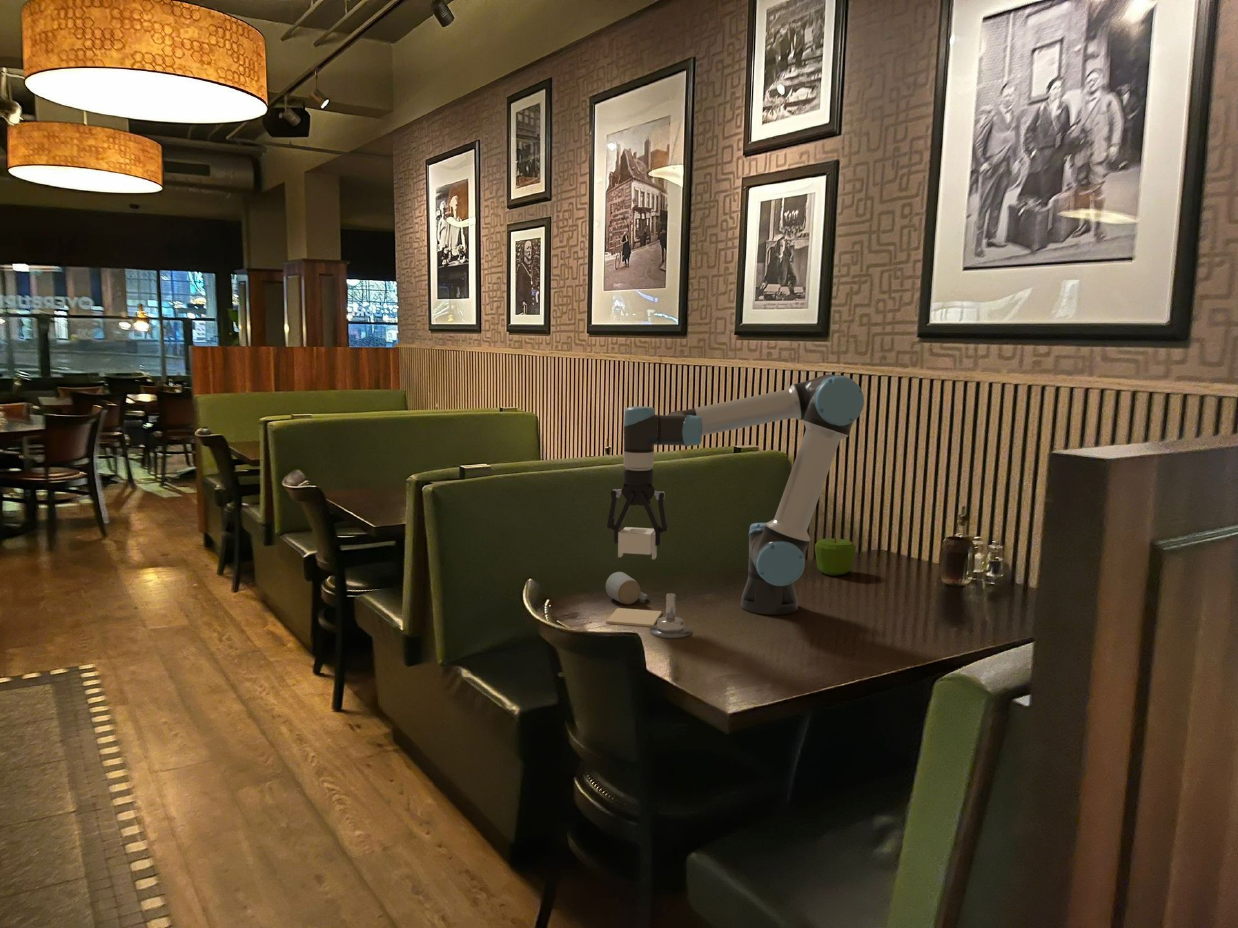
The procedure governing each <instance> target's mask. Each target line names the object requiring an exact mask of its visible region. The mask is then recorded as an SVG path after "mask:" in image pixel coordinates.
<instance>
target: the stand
mask: <svg viewBox="0 0 1238 928" xmlns="http://www.w3.org/2000/svg"><path fill="white" fill-rule="evenodd" d="M665 601H666V602H665V616H662V617H661V616H660V617H659V618H658V620H657V621H656V622H657V624H654V626H653V627H649V628H650V629H649V633H650V635H651V636H654V637H656V638H661V639H667V640H671V639H672V640H674V639H683V638H687V637H690V635H691V634H692V630H691V628H690V627H688V626H686V625H685V624H684V623H685V621H684V619H683V618H681V617H679V616H676V593H672V592H671V593H669V592H668V593H666V596H665Z"/></svg>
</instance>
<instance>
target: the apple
mask: <svg viewBox="0 0 1238 928" xmlns="http://www.w3.org/2000/svg"><path fill="white" fill-rule="evenodd" d="M856 551H857V545H855V544H854V542H852V541H850V540H847V539H842V538H836V537H833V538H822V539H819V540H817V542H816V543H815V545H814V552H815V559H816V564H817V566H816V567H817V569H818V570H819V571H820V572H821V573H823V574H824V575H826V576H833V577H835V576H837V577H838V576H843V575H845V574H847V573H849V572H850V571H852V569H853V564H854V560H855V556H856Z"/></svg>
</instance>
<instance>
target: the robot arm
mask: <svg viewBox="0 0 1238 928" xmlns="http://www.w3.org/2000/svg"><path fill="white" fill-rule="evenodd" d="M864 405H865V396H864V392H863V391H862V388H861V387H860V385H859V384H858V383H857V382H856V381H855V380H853V379H852V378H850V377H848V376H846V375H841V374H824V375H821V376H817V377H815V378H814V377H813V378H811V379H809V380H806V381H802V382H799V383H793V384H791V385H790V387H789V388H788V389H784V390H778V391H773V392H769V393H763V394H758V395H754V396H749V397H744V398H738V399H734V400H729V401H724V402H719V403H713V404H709V405H705V406H698V407H695V408H690V409H684V410H674V411H671V412H670V413H668V414H667V415H666V414H665V415H661V414H656V412H655V409H654V407H651V406H639V405H637V406H629V407H627V408H626V409H625V411H624V418H623V419H624V420H623V467H624V469H623V481H622V482H623V484H622V488H620V489H616V488H614V489H612V490H611V491H610V497H611V503H610V507H609V508H610V509H609V512H608V513H609V514H608V519H607V524H606V528H607V529H610V530H613V538H614V539H613V542H614V544H617V558H622V557H623V555H624V553H619V533H620V532H621V531H622V530H623V529H621V528H622V526H623V523H624V521H625V520H626V517H627V515H628V513H629V510H630V508H631V506H643V507H644V509H645V511H646V513H647V516H648V518H649V520H650V523H651V525H652V529H654V530H655V532H653V534H652V553H651V560H656V558H657V551H658V549H657V547H658V546H659V547H660V545H661V544H662V543H661V542H662V533H663V532H666V531H668V529H669V523H668V522H669V521H668V516H667V510H666V503H665V499H666V491H664V490H662V491H659V490H655V487H654V469H653V467H654V463H655V462H654V461H655V459H654V457H655V456H654V455H655V454H654V451H655V449H654V447H655V446H682V447H683V446H685V447H690V446H691V447H692V446H700V445H702V441H703V436H707V435H712V434H717V433H722V432H726V431H728V432H729V431H732V430H737V429H738V430H739V429H743V428H744V429H745V428H749V427H754V426H758V425H762V424H763V425H764V424H769V423H774V422H778V421H783V420H790V419H793V418H794V419H796V421H802V422H803V424H804V427H805V432H804V435H803V438H802V441H801V443H800V446H799V449H798V451H797V453H796V457H795V460H794V462H793V466H792V468H791V470H790V471H791V472H790V474H789V476H788V480H787V482H786V485H785V488H784V490H783V494H782V496H781V498H780V502H779V505H778V507H777V510H776V513H775V516H774V518H773V519H772V520H769V521H768V522H755V523H751V524H750V526H749V531H748V537H749V538H748V540H749V541H748V570H747V572H748V576H747V580H746V583H745V586H744V589H743V592H742V594H741V601H740V607H741V608H742V609H743V610H745V611H748V612H751V613H754V614H758V615H759V614H761V615H768V616H769V615H770V616H772V615H775V616H776V615H777V616H778V615H780V616H781V615H788V614H792V613H795V612H796V611H798V610H799V599H798V596H797V592H796V589H795V586H794V583H795V582H797V580H799V578H800V577H801V576H802V575H803V572H804V570H805V563H806V560H805V556H806V552H807V549H808V546H809V544H810V541H811V538H810V536H809V535H810V534H809V533H808V529H809V526H810V524H811V519H812V517H813V515H814V512H815V509H816V508H817V504H818V501H819V498H820V496H821V493H822V490H823V488H824V485H825V482H826V479H827V477H828V474H829V471H830V468H831V466H832V462H833V460H834V457H835V455H836V453H837V452H836V451H837V449H838V447H839V443H840V442H841V441H842V440H843V439H846V438H848V437H849V435H850V432H851V429H852V427H853V424H854V422H855V421H856V420H857V419H858V418H859V416H860V415H861V414H862V411H863V409H864ZM621 495H622V496H623V497H624V498H625V503H624V504H623V505H624V506H623V508H622V510H621V512H620V514H619V517H618V518H617V520H616V523H615V519H616V513H617V509H618V503H619V498H620V497H621ZM654 496H655V499H656V500H657V505H658V510H659V511H658V513H659V516H660V517H659V518H660V522H661V524H660V522H659V520H658V517H657V515H656V512H655V510H654V507H653V504H652V502H651V499H652V498H653V497H654Z"/></svg>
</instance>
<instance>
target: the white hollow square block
mask: <svg viewBox="0 0 1238 928" xmlns="http://www.w3.org/2000/svg"><path fill="white" fill-rule="evenodd" d="M621 530H622V531H621V532H620V533H619V553H623V554H631V555H632V554H633V555H650V556H651V555H652V534H653V532H655V530H654V528H653V527H652V528H649V527H647V528H646V527H632V526H631V527H630V526H625V527H624V528H623V529H621Z"/></svg>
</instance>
